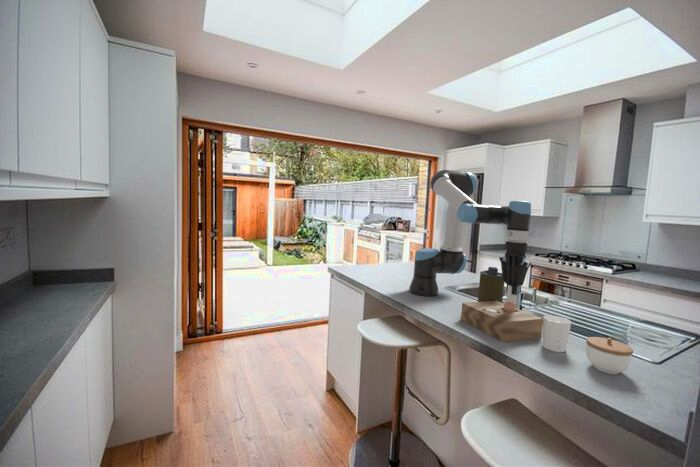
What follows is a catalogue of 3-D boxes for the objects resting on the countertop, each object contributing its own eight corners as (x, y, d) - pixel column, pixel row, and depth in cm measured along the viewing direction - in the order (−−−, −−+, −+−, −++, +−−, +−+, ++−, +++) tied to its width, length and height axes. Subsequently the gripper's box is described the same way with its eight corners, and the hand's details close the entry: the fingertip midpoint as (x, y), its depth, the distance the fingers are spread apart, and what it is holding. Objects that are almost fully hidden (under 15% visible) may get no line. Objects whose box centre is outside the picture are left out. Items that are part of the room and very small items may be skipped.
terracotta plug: (500, 315, 127) (502, 301, 127) (508, 315, 129) (510, 300, 128) (508, 319, 124) (510, 304, 123) (516, 318, 125) (518, 303, 125)
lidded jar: (580, 367, 96) (584, 337, 95) (587, 357, 103) (590, 328, 102) (627, 383, 88) (632, 350, 87) (631, 370, 96) (635, 340, 95)
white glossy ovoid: (481, 324, 125) (483, 309, 124) (490, 323, 126) (491, 308, 125) (489, 328, 121) (491, 312, 120) (497, 327, 122) (499, 311, 122)
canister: (505, 315, 140) (510, 270, 139) (481, 314, 141) (486, 269, 139) (495, 308, 151) (499, 265, 150) (472, 306, 151) (476, 264, 150)
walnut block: (460, 319, 132) (462, 302, 132) (495, 316, 138) (496, 300, 138) (503, 341, 112) (505, 322, 111) (541, 337, 118) (543, 318, 117)
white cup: (540, 341, 114) (543, 313, 114) (567, 347, 110) (570, 318, 110) (540, 348, 108) (543, 319, 107) (568, 355, 104) (572, 325, 103)
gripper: (495, 239, 129) (490, 297, 130) (523, 243, 116) (517, 307, 118) (510, 239, 131) (504, 296, 133) (538, 243, 119) (532, 306, 121)
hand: (510, 301), depth 126 cm, fingers closed
